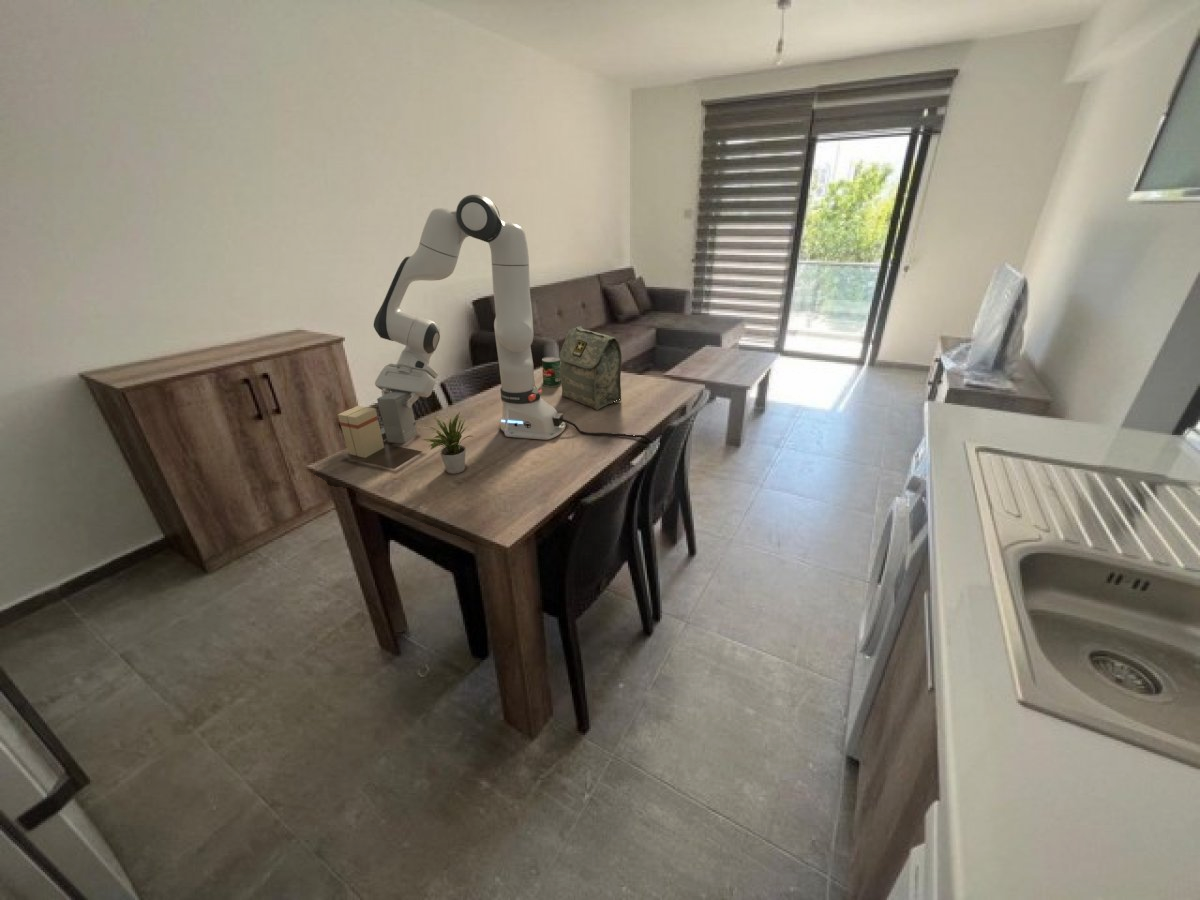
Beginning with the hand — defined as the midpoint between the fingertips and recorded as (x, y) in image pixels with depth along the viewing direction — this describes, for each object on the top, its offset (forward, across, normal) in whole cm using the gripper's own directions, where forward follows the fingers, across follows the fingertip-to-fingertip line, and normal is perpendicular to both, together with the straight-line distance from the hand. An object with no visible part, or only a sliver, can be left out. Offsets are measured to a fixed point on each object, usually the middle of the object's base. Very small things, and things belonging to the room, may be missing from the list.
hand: (395, 404), depth 151 cm
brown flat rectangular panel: (+17, +4, 0) cm, 18 cm away
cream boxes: (+16, -3, -1) cm, 17 cm away
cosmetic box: (+9, 0, +9) cm, 13 cm away
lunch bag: (-32, +43, +49) cm, 72 cm away
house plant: (+15, +28, +2) cm, 32 cm away
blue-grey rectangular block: (+9, -6, +9) cm, 14 cm away
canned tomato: (-40, +20, +57) cm, 73 cm away
